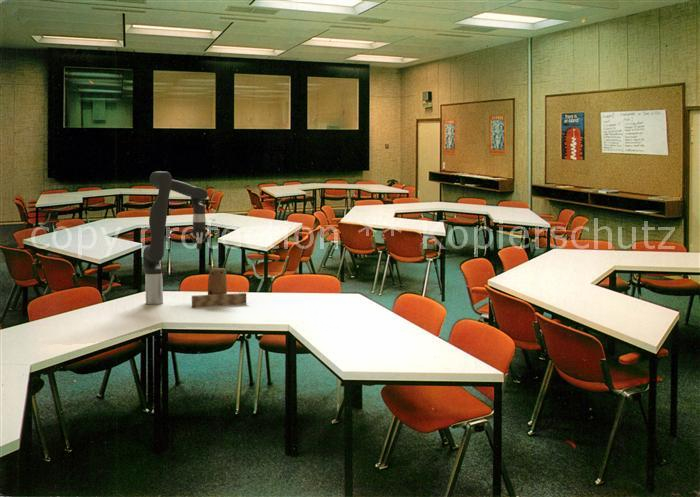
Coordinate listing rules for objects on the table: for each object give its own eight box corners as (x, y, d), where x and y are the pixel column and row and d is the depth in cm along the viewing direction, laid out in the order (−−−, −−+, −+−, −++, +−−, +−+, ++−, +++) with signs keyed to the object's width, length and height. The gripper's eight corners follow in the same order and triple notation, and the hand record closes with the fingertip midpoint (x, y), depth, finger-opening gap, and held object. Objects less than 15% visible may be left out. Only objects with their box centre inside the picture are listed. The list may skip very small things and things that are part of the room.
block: (227, 301, 343) (226, 267, 342) (226, 303, 336) (226, 269, 334) (208, 301, 342) (207, 267, 340) (207, 304, 334) (206, 269, 333)
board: (192, 307, 325) (192, 296, 324) (191, 306, 328) (191, 295, 327) (246, 303, 336) (246, 293, 335) (245, 302, 339) (245, 292, 338)
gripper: (188, 221, 354) (188, 250, 356) (211, 221, 359) (210, 249, 361) (187, 221, 361) (187, 249, 363) (209, 221, 366) (209, 248, 368)
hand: (199, 249), depth 362 cm, fingers closed
